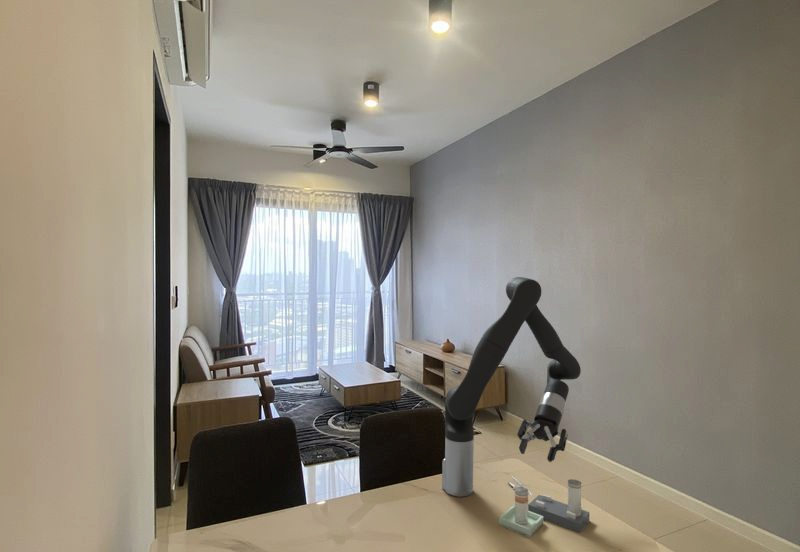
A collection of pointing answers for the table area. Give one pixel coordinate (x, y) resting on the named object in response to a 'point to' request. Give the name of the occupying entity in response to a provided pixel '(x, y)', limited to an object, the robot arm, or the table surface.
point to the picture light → (519, 484)
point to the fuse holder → (558, 513)
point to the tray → (527, 530)
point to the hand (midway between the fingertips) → (535, 456)
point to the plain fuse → (574, 497)
